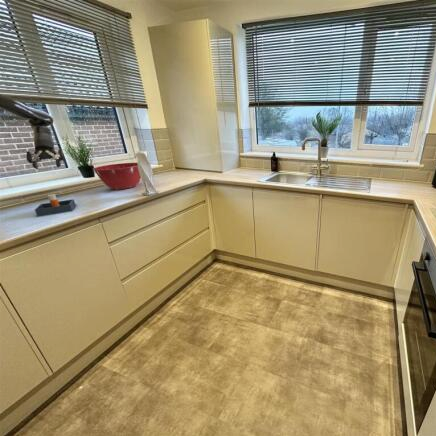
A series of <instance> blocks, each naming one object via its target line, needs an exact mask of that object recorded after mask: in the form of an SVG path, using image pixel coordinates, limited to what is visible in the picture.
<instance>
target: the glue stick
mask: <svg viewBox="0 0 436 436" xmlns="http://www.w3.org/2000/svg"><path fill="white" fill-rule="evenodd" d="M46 196H47V198H48V201H49V203H51V205H52V207H55V206H60V205H59V203H58V201H59V200H58V198H57V195H56V193H52V194H47V195H46Z"/></svg>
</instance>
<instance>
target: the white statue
mask: <svg viewBox="0 0 436 436" xmlns="http://www.w3.org/2000/svg"><path fill="white" fill-rule="evenodd" d="M136 151H137V152H136ZM133 153H134V156H135V157H136V160H137V163H138V169H139V173H140V176H141V177H140V180H141V181H142V183H143V185H144V193H142V196H146V197H151V196H154V195H155V196H156V195H158V194H160V193H159V192H158V191H157V189H156V187H155V185H154V184H155V183H154V181H155V180H154V171H153V168H152V165H151V163H150V161H149V158H148V151H147V150H144V151H143V150H139V149H138V148H135V149H134V151H133Z"/></svg>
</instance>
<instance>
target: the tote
mask: <svg viewBox="0 0 436 436" xmlns="http://www.w3.org/2000/svg"><path fill="white" fill-rule="evenodd" d="M58 203H59V205H60V206H55V207H52V205H51V202H43V203H40V204H39V205H38V206H37V207H36V208H34V212H35V214H36V216H37V217H45V216H50V215H56V214H63V213H68V212H69V213H70V212H73V211H74V209H75V208H76V206H77V205H76V202H75V199H65V200H58Z"/></svg>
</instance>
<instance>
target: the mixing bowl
mask: <svg viewBox="0 0 436 436" xmlns="http://www.w3.org/2000/svg"><path fill="white" fill-rule="evenodd" d="M92 171H94V173H95V174H96V176H97V177H98V178H99V179H100V180H101V181H102V182H103V184H104V185H106V186H107V187H108V188H110V189H113V190H116V191H117V190H118V191H119V190H120V191H121V190H128V189H131V188H135V187H137V185H138V184H139V183H140V181H141V176H140V173H139V169H138V162H124V163H123V162H121V163H112V164H106V165H105V164H104V165H100V166H96V167H93V168H92Z"/></svg>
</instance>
